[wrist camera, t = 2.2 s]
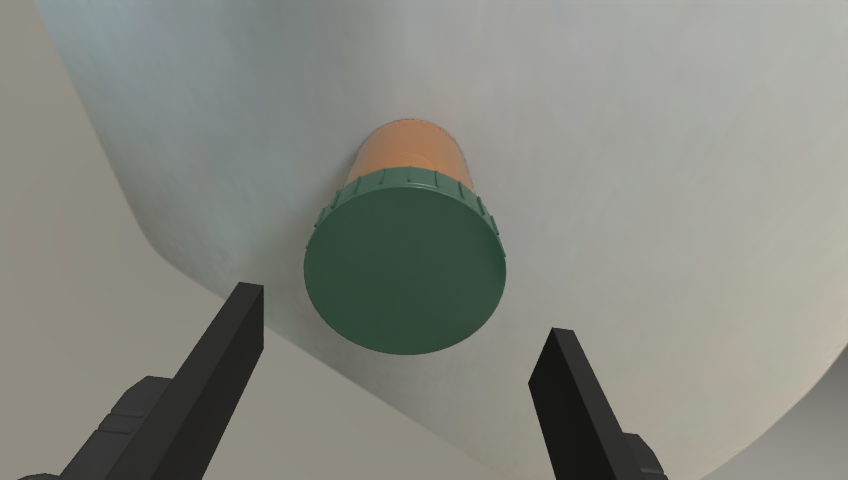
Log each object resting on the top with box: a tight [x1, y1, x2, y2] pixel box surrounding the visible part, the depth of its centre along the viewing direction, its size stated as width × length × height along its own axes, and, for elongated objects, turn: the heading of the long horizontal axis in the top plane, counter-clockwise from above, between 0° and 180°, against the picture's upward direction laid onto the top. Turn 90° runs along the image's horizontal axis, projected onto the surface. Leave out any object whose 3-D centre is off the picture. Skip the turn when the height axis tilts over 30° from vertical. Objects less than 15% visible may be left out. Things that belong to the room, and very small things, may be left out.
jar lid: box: [304, 166, 506, 355], centre depth 18 cm, size 8×8×2 cm
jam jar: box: [342, 119, 476, 195], centre depth 22 cm, size 8×8×12 cm
